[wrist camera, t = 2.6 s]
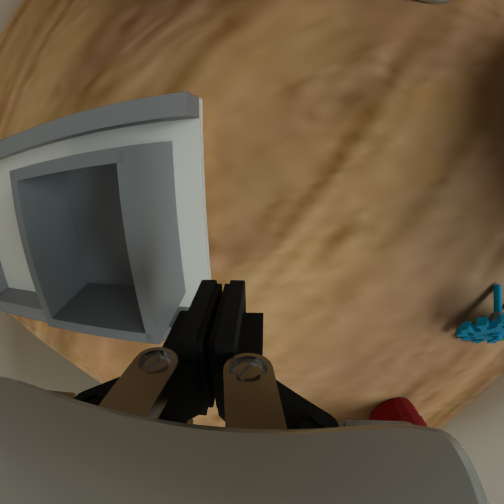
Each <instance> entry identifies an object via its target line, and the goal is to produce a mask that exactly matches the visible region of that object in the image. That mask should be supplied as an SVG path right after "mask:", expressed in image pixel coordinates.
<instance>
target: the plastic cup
mask: <svg viewBox="0 0 504 504" xmlns="http://www.w3.org/2000/svg"><path fill="white" fill-rule="evenodd" d="M370 420H378V421H405V422H410V423H412V424H414V425H420V426H427V425H426V423H425V422H424V420H423V419H422V417H421V416H420V415H419V414H418V412H417V411H416V409H415V407H414V406H413V404H412V403H411V402H410V401H409V400H408V399H406V398H394V399H391V400H388V401H386V402H383V403H382V404H380V405H379V406H377V407H376V408H375V409H374V410H373V411H372V413H371V415H370Z"/></svg>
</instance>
